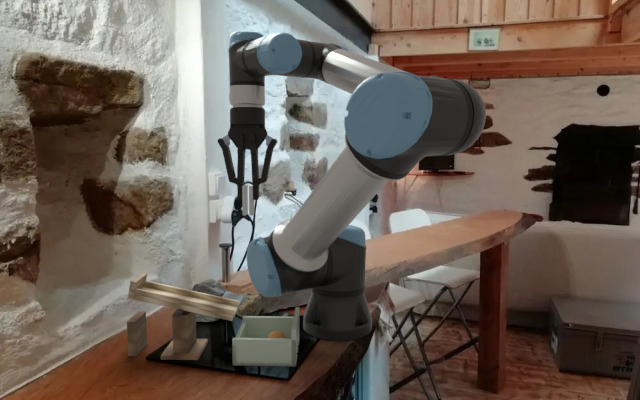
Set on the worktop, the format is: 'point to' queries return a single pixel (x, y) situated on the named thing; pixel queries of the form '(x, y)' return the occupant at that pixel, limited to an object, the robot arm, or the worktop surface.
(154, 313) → the worktop surface
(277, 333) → the brown egg
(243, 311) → the rock
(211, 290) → the stone
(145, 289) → the lever
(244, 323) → the bin
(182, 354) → the fulcrum
